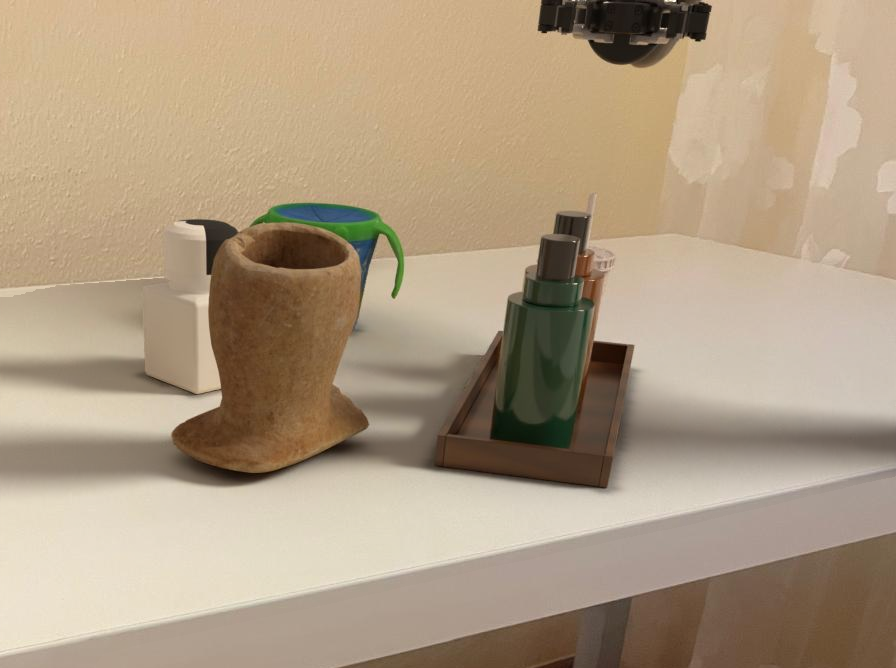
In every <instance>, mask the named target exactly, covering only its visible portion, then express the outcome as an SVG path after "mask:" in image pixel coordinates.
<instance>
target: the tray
mask: <svg viewBox="0 0 896 668" xmlns="http://www.w3.org/2000/svg"><path fill="white" fill-rule="evenodd" d="M502 336H503V330H498V331H497V332H496V334H495V336H494V337H493V340H492V341H491V343H490V345H489V346H488V347H487V350H486V352H484V355H483V356H482V358H481V360H480V362H479V363H478V365H477V367H476V368H475V369H474V372H473V374H472V376H471V377H470V379H469V381H468V382H467V384H466V386H465V387H464V390H463V391H462V393H461V394H460V396H459V398H458V399H457V402H456V403H455V405H454V406H453V408H452V410H451V411H450V413H449V415H448V417H447V418H446V420H445V422H444V424H443V426H441V429H440V431H439V432H438V434H437V438H436V447H435V455H434V466H436V467H445V468H452V469H458V470H467V471H474V472H481V473H482V472H483V473H489V474H490V473H491V474H496V475H497V474H498V475H506V476H513V477H522V478H528V479H529V478H530V479H536V480H537V479H538V480H544V481H551V482H560V483H567V484H576V485H581V486H582V485H583V486H589V487H591V486H592V487H599V488H605V489H607V488H608V486H609V481H610V477H611V470H612V466H613V460H614V455H615V449H616V444H617V440H618V435H619V429H620V424H621V420H622V419H621V418H622V413H623V408H624V404H625V403H624V402H625V398H626V393H627V387H628V382H629V377H630V372H631V366H632V360H633V356H634V351H635V344H630V343H622V342H621V343H619V342H612V341H602V340H594V343H593V349H592V354H591V360H590V366H589V372H588V378H587V383H586V389H585V395H584V401H583V407H582V410H581V411H580V412H578V413H577V415H576V421H575V426H574V432H573V438H572V444H571V449H565V448H557V447H549V446H541V445H532V444H524V443H516V442H508V441H500V440H492V439H489V437H490V429H491V421H492V414H493V406H494V398H495V390H496V383H497V375H498V367H499V359H500V352H501V344H502Z"/></svg>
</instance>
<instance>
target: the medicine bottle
mask: <svg viewBox="0 0 896 668" xmlns="http://www.w3.org/2000/svg"><path fill="white" fill-rule="evenodd" d="M239 232H240V231H239V230H238V229H237V228H236V227H234V226H233V225H231V224H229V223H227V222H225V221H222V220H216V219H206V218H204V219H203V218H194V219H193V218H192V219H182V220H177V221H174V222H173V223H171V224H169V225H167V226H166V227H165V228H164V230H163V231H162V241H163V242H162V243H163V276H164V278H165V279H166V280H168V281H166V282H161V283H160V282H159V283H154V284H153V283H152V284H147V285H144V286H143V287H142V289H141V298H142V299H141V300H142V323H143V324H142V325H143V347H144V349H143V350H144V351H143V352H144V371H145V374H146V375H147V376H149V377H151V378H153V379H156V380H159V381H161V382H164V383H167V384H169V385H171V386H175V387H177V388H179V389H182V390H185V391H188V392H190V393H192V394H195V395H200V394H204V393H209V392H213V391H217V390H221V384H220V377H219V372H218V367H217V364H216V360H215V356H214V353H213V350H212V346H211V339H210V331H209V319H208V306H209V291H210V280H211V272H212V267H213V262H214V258H215V256H216V253H217V251H218V250H219V248H220V246H221V245H222V243H223V242H224V241H225V240H226V239H230V238H232V237H233V236H235V235H236V234H238V233H239Z"/></svg>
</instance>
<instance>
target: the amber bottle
mask: <svg viewBox="0 0 896 668" xmlns="http://www.w3.org/2000/svg"><path fill="white" fill-rule="evenodd" d="M591 217H592V216H591V214H589V213H587V212H585V211H578V210H560V211H556V212H555V218H554V225H553V229H552V234H564V235H571V236H575V237H578V238H579V239H580V244H579V250H578V256H577V263H576V269H575V275H577V276H580V277H582V278H583V279H584V285H583V291H582V297H585V298H588V299H590V300H592V301H593V302H594V303H595V309H594V315H593V321H592V326H591V332H590V338H589V344H588V350H587V356H586V362H585V368H584V373H583V379H582V385H581V391H580V397H579V403H578V409H577V413H578V412H580V411H581V410H582V407H583V401H584V395H585V389H586V383H587V378H588V372H589V366H590V360H591V354H592V349H593V343H594V341H595V336H596V331H597V326H598V325H597V324H598V319H599V313H600V307H601V303H602V300H601V296H602V290H603V285H604V279H605V274H604V273H603V272H601V271H599V270H596V269H593V263H594V257H595V252H594V251H592V250H590V249H587V248H586V247H587V241H588V235H589V229H590V223H591ZM536 269H537V263H536V264H532V265H528V266H527V267H525V268H524V273H523V282H522V286H521V287H522V289H521V292H523V288H524V280H525V275H526V274H528V273H531V272H536ZM602 297H603V296H602ZM600 302H601V303H600Z"/></svg>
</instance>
